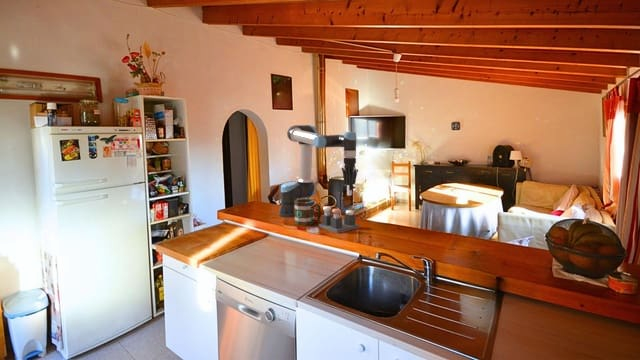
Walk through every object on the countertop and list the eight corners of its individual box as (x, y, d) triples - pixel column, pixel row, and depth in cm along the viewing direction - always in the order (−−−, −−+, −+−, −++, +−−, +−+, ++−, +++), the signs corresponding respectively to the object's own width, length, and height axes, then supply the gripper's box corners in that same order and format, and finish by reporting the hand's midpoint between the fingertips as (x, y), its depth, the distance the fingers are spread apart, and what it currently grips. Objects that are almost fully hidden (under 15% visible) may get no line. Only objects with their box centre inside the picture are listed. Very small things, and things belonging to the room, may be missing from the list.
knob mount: (318, 226, 220) (318, 214, 219) (339, 222, 231) (339, 210, 230) (336, 233, 206) (336, 220, 205) (358, 227, 217) (358, 215, 216)
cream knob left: (344, 223, 218) (344, 210, 217) (350, 222, 221) (350, 209, 220) (349, 224, 214) (349, 212, 213) (355, 223, 217) (355, 211, 216)
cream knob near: (321, 219, 218) (321, 207, 217) (327, 218, 221) (327, 205, 220) (326, 221, 214) (326, 208, 213) (332, 219, 217) (332, 207, 216)
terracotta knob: (330, 222, 211) (330, 209, 210) (336, 221, 214) (336, 208, 213) (336, 224, 207) (335, 210, 206) (342, 222, 210) (342, 209, 209)
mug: (290, 223, 228) (289, 201, 226) (302, 219, 239) (302, 198, 237) (314, 228, 217) (313, 204, 215) (326, 223, 228) (326, 201, 225)
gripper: (338, 157, 215) (338, 194, 218) (352, 158, 205) (352, 197, 208) (347, 156, 219) (346, 192, 223) (361, 157, 209) (361, 196, 213)
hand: (349, 195), depth 216 cm, fingers closed
